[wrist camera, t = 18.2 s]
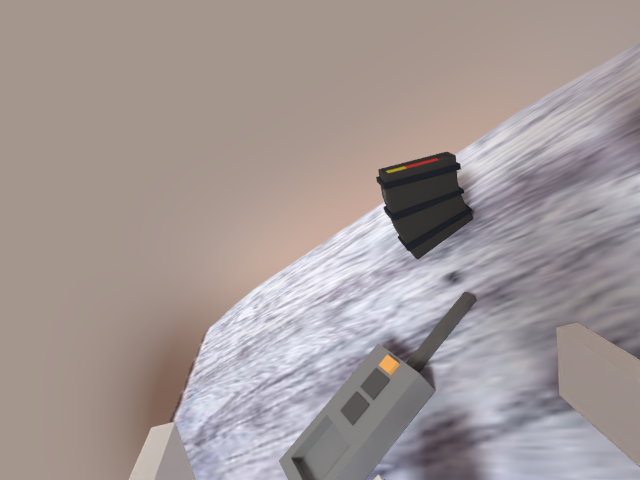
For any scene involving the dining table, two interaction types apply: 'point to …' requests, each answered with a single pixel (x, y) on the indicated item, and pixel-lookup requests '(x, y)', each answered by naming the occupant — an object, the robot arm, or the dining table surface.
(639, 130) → the dining table surface
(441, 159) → the magazine
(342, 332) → the dining table surface
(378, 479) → the block
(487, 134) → the dining table surface
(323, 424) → the power strip
